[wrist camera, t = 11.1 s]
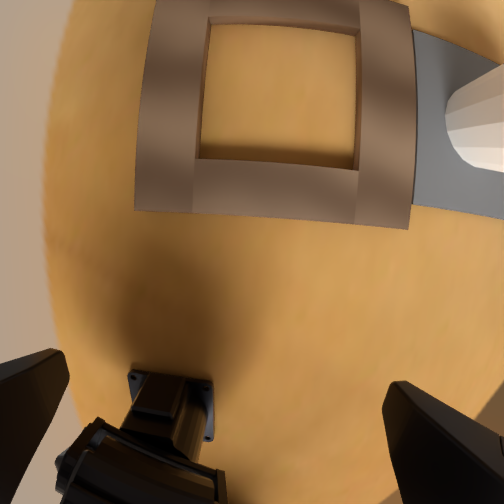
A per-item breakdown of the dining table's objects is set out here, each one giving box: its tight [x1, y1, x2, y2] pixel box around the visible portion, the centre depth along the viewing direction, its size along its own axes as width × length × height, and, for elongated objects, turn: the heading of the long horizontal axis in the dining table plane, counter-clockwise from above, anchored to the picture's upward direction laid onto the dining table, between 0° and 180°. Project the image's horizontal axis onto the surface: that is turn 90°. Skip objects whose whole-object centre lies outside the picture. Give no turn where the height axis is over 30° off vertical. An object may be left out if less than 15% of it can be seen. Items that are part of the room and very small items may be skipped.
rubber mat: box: [411, 30, 504, 220], centre depth 16 cm, size 12×10×1 cm
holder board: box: [134, 0, 416, 230], centre depth 16 cm, size 15×16×1 cm
